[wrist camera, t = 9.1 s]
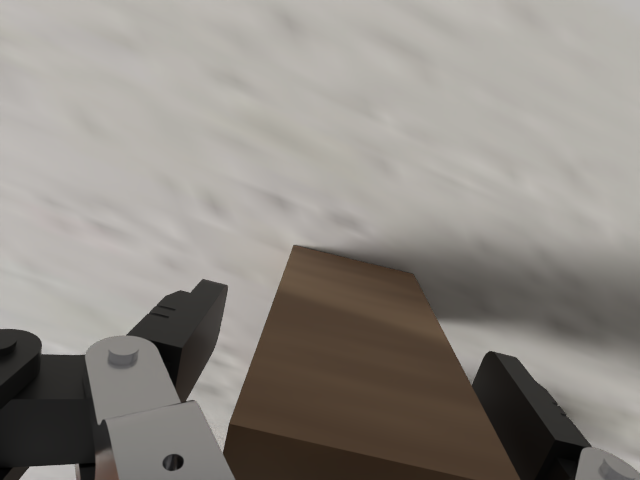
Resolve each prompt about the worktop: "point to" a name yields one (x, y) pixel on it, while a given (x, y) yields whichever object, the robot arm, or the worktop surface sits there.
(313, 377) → the end tile
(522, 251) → the worktop surface
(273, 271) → the worktop surface
